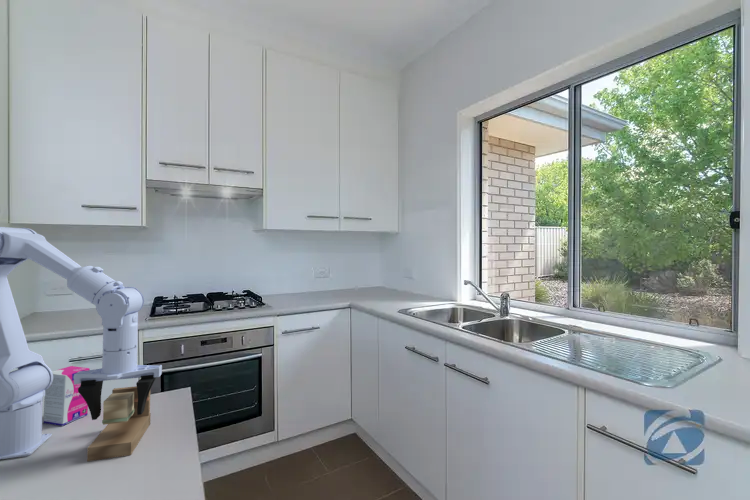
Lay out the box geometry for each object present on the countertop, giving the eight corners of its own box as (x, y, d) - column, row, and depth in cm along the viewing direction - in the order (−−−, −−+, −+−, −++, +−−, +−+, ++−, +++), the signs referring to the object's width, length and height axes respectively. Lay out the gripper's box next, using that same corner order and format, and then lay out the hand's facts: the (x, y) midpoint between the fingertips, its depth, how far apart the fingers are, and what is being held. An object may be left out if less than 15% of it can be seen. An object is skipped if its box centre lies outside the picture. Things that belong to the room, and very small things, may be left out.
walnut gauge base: (87, 461, 66) (88, 413, 66) (114, 428, 78) (115, 387, 78) (130, 455, 68) (131, 408, 68) (150, 423, 80) (151, 384, 80)
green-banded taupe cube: (102, 425, 68) (102, 401, 68) (110, 415, 72) (111, 393, 72) (127, 422, 70) (127, 399, 70) (134, 412, 74) (134, 391, 74)
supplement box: (63, 426, 78) (64, 375, 78) (42, 423, 79) (43, 373, 80) (89, 415, 84) (90, 367, 84) (69, 412, 85) (70, 365, 85)
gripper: (66, 356, 65) (64, 429, 65) (155, 350, 70) (154, 419, 70) (84, 346, 72) (82, 413, 72) (164, 341, 76) (163, 404, 76)
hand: (118, 415), depth 71 cm, fingers open, 7 cm apart
